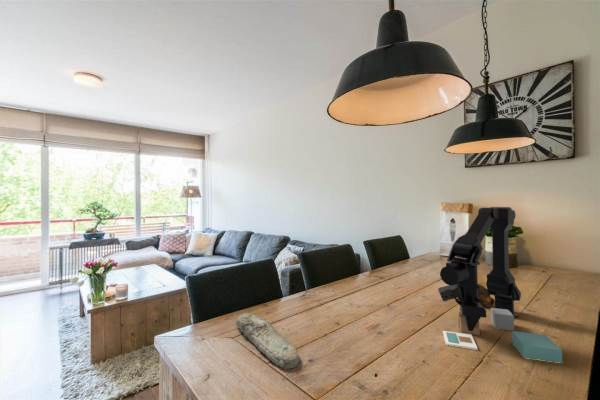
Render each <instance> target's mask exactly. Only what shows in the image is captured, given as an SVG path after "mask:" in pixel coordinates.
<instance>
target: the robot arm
mask: <svg viewBox="0 0 600 400" xmlns="http://www.w3.org/2000/svg"><path fill="white" fill-rule="evenodd" d="M516 215H517V214H516V212H515V210H513V209H512V207H511V206H490V207H483V206H482V207H480V208H479V209H478V213H477V215H476V217H475V219H474V220H473V222H472V224H471V225H470V227H469V228H468V230H467V232H466V233H465V234H462V235H461V236H459V237H458V238H456V240H455V241H454V242H453V244H452V246H451V248H450V251H449V253H448V256H447V259H446V261H447V262H446V263H445V266H444V267H442V268H441V269H440V272H439V275H440V279H441V280H442V282H443V283H444V284H446V285H445V286H444V285H443V286H441V287H438V288H437V290H438V293H439V295H440V297H441V300H442V301H443V302H448V301H450V300H455V302H456V303H457V304H458V306H459V312H461V313H462V314H463V315H465V318H466V322H467V327H468V330H469V331H473V329H474V328H475V326H476V324H477V322H478V321H479V322H480V319H481V318H487V316H488V315H487V310H486V309H485V307H484V305H482V304H481V302H480V298H479V297H478V289H479V285H480V284H479V282H478V266H479V265H480V264H481V262H480V261H479V260H480V258H481V256H482V253H483V249H484V248H483V246H482V243H483V240H484V238H485V237H486V235H487V233H488V232H489V229H490V230H491V236H492V238H491V241H492V243H491V244H492V269H491V271H490V272H489V273H487V274H486V283H485V284H486V289H487V290H488V294H489V295H490V296H494V306H493V307H491V308H497V309H507V310H509V311H510V312H511V313H512V314H513V316H514V318H519V316H518V314H517V313H516V312H515V302H516V301H517V302H518V301H519V302H520V301H521V294H522V292H521V290H520V289H519V287H518V286H517V284H516V280H515V277H514V275H513V274H512V273H511V271H510V257H509V255H510V251H509V246H510V245H509V231H510V230H511V228H512V227H513V226H514V223H515V219H516ZM478 284H479V285H478ZM475 301H477V302H478V303H476V302H475Z"/></svg>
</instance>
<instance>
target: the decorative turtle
mask: <svg viewBox="0 0 600 400" xmlns="http://www.w3.org/2000/svg"><path fill="white" fill-rule="evenodd" d="M478 285H479V289H478V297H479V298H480V302H477V301H475V302H476V303H482V304H486V305H491V306H492V305H494V304H495V298H493V297H492V296H491V295H489V294H488V290H487V287H485V286H484V285H481V284H479V283H478Z"/></svg>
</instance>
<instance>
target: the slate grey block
mask: <svg viewBox="0 0 600 400" xmlns="http://www.w3.org/2000/svg"><path fill="white" fill-rule="evenodd" d="M514 319H515V317H514V316H513V314H512V313H511V312H510V311H509V310H507V309H497V308H492V307H490V322H491V324H492V323H493V324H492V325H493V327H494V326H495V327H494V328H495V329H496V328H499V329H498V330H504V329H506V330H505V331H511V330H514V331H515V323H514V322H515V320H514Z"/></svg>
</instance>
